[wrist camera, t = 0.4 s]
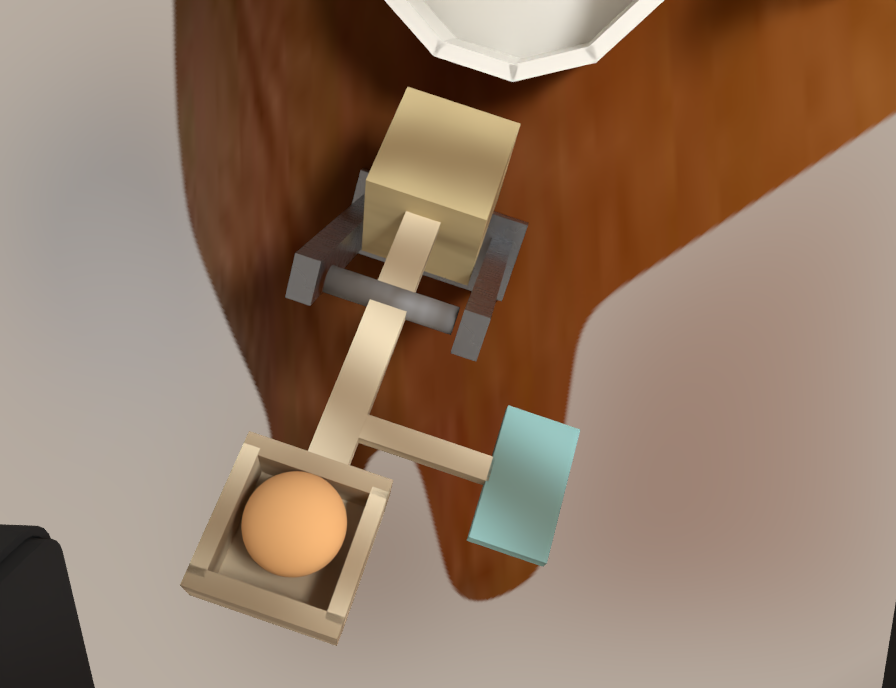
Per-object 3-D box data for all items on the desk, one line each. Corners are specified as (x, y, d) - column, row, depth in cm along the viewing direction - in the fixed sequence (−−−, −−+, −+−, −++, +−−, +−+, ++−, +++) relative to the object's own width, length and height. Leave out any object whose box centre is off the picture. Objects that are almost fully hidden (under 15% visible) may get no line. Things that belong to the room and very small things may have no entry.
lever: (396, 162, 43) (406, 71, 37) (613, 234, 43) (658, 154, 37) (203, 612, 32) (175, 583, 27) (489, 711, 32) (524, 703, 26)
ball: (273, 438, 29) (234, 494, 26) (368, 471, 29) (341, 531, 26) (255, 517, 30) (216, 579, 27) (345, 548, 30) (317, 613, 27)
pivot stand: (363, 168, 44) (290, 221, 33) (528, 222, 44) (510, 295, 33) (343, 244, 46) (269, 319, 35) (502, 297, 46) (477, 389, 35)
